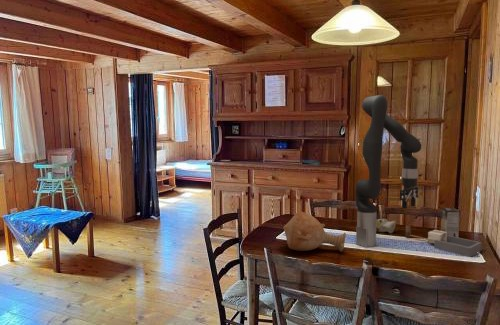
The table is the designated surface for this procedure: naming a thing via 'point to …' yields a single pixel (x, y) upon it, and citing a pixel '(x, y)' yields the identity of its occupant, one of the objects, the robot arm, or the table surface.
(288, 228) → the jug
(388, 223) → the ceramic sculpture
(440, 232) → the wooden mallet
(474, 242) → the gray tray
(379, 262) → the table surface
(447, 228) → the coffee box
